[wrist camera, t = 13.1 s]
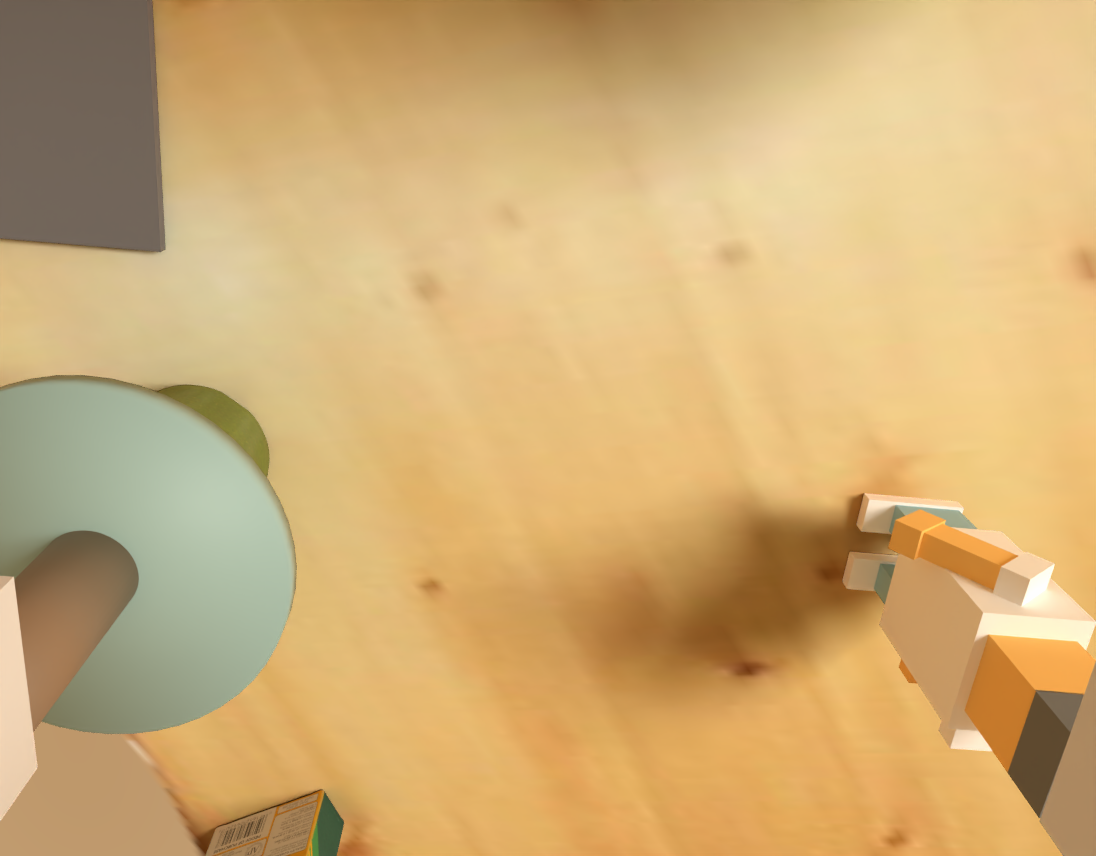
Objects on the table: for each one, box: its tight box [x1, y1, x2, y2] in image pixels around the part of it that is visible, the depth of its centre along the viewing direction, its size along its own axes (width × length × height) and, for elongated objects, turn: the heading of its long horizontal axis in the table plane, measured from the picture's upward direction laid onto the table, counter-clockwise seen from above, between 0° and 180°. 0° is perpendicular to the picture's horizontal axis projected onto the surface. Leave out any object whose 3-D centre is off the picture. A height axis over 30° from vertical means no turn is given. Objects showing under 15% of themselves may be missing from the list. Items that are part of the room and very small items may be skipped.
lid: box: [0, 375, 297, 734], centre depth 32 cm, size 15×15×11 cm
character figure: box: [842, 493, 1096, 818], centre depth 42 cm, size 8×10×18 cm
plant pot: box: [157, 385, 269, 477], centre depth 42 cm, size 12×12×11 cm
